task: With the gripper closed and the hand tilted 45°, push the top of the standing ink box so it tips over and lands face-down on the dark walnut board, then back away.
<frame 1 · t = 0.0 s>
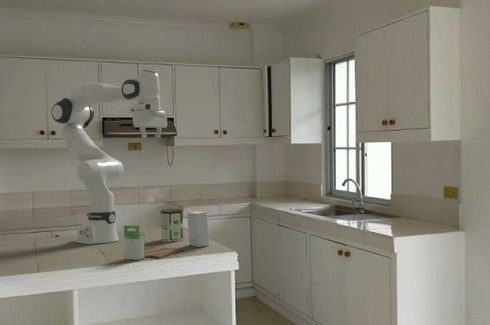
hand: (151, 137, 236), 48 cm above the countertop, tool pointing down, fingers open, 8 cm apart
ink box: (134, 259, 208), on the countertop
walnut board: (154, 253, 219), on the countertop
coffee can: (172, 240, 250), on the countertop
skincare box: (198, 245, 233), on the countertop
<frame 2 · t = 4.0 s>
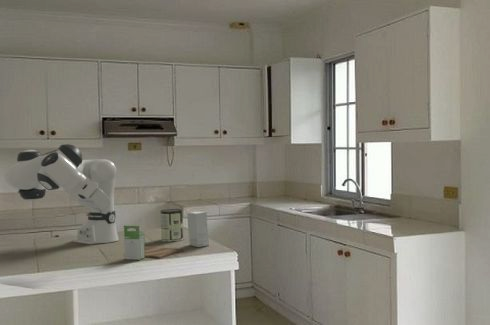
hand: (105, 212, 200), 19 cm above the countertop, tool tilted 45°, fingers closed
nothing on the countertop moved.
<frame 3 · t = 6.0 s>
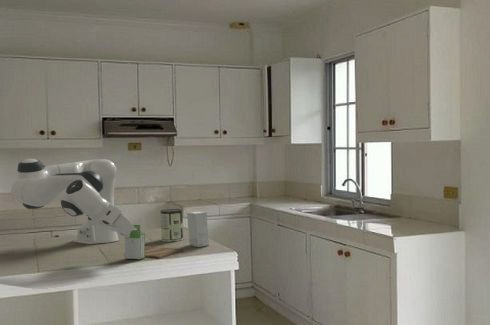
hand: (127, 236, 206), 9 cm above the countertop, tool tilted 45°, fingers closed
nothing on the countertop moved.
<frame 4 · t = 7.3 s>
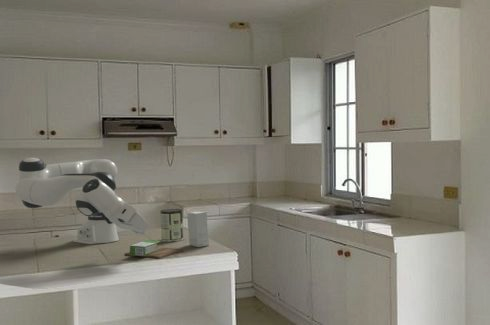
hand: (141, 234, 210), 9 cm above the countertop, tool tilted 45°, fingers closed
ink box: (136, 251, 210), point 3 cm above the countertop, touching walnut board
everything else where it was.
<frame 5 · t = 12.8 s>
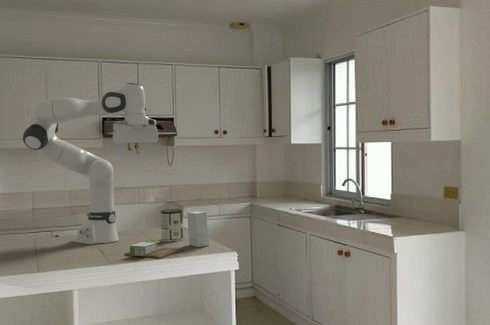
hand: (136, 153, 225), 41 cm above the countertop, tool pointing down, fingers closed
nothing on the countertop moved.
at the end: ink box tilted 90°; ink box touching walnut board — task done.
